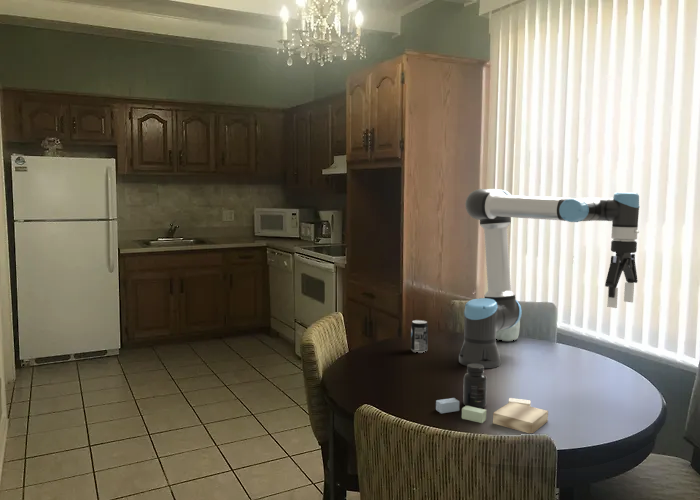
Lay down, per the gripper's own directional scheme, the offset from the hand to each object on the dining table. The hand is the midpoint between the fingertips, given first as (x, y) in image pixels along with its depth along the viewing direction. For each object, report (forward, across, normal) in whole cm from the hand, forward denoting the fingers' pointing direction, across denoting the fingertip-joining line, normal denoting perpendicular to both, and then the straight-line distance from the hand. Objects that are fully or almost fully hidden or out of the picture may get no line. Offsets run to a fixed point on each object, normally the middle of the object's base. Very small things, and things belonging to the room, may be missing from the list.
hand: (620, 304), depth 188 cm
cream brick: (+27, -45, +10) cm, 53 cm away
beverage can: (+27, -17, +70) cm, 77 cm away
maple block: (+27, -53, +5) cm, 60 cm away
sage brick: (+27, -60, +15) cm, 68 cm away
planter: (+27, +25, +57) cm, 68 cm away
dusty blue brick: (+27, -60, +24) cm, 70 cm away
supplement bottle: (+27, -51, +21) cm, 61 cm away
